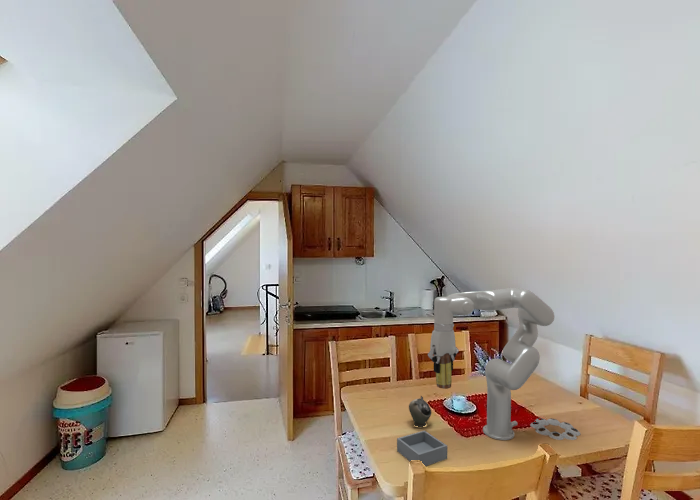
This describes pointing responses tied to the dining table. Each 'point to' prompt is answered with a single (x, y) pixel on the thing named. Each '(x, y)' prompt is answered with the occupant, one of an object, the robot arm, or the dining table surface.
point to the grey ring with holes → (555, 422)
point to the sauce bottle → (444, 372)
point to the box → (422, 448)
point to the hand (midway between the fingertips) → (443, 370)
